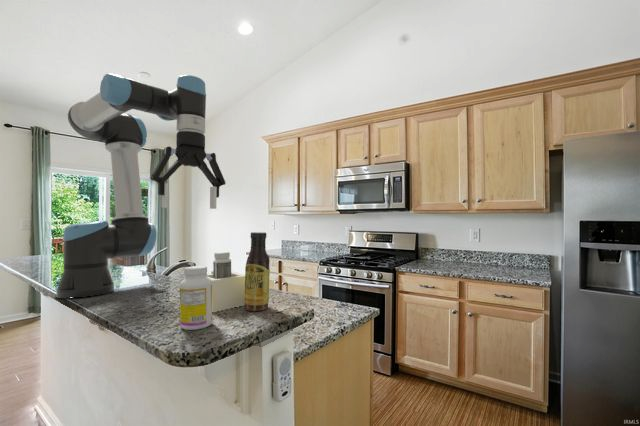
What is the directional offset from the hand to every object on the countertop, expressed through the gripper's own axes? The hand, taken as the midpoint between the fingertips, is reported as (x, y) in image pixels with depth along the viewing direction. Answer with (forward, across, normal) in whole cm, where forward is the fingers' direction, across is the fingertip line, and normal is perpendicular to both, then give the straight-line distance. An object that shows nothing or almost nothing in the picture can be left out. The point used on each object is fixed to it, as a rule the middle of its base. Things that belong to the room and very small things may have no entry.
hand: (190, 208), depth 91 cm
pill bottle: (+20, +5, -10) cm, 23 cm away
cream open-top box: (+26, +5, -10) cm, 29 cm away
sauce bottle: (+26, +10, -20) cm, 34 cm away
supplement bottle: (+26, -7, -22) cm, 35 cm away
